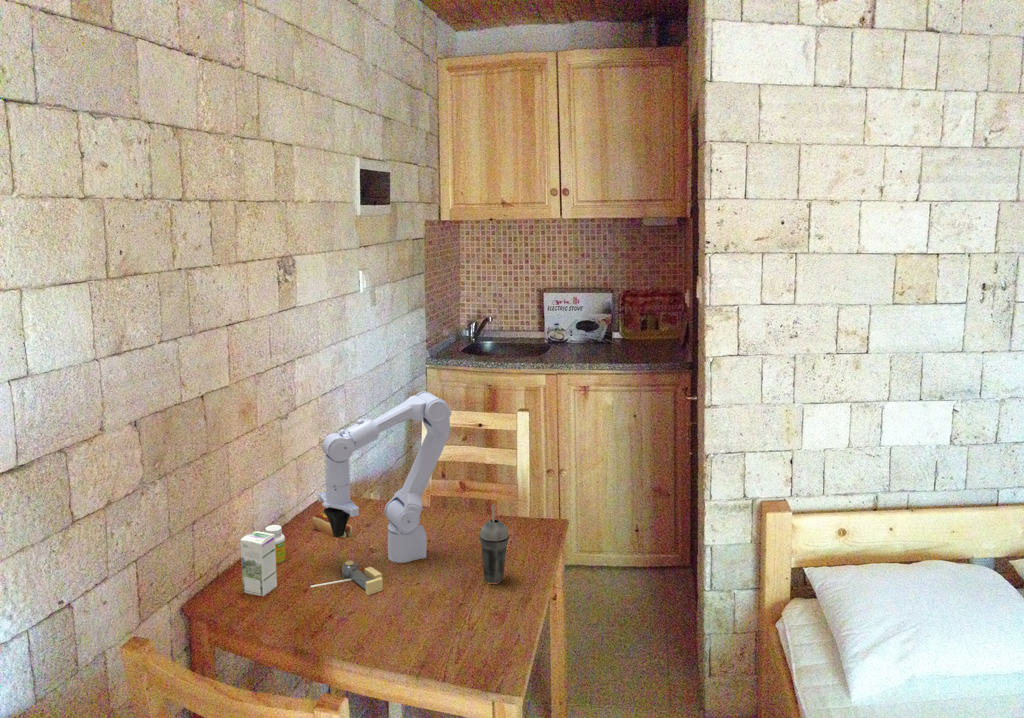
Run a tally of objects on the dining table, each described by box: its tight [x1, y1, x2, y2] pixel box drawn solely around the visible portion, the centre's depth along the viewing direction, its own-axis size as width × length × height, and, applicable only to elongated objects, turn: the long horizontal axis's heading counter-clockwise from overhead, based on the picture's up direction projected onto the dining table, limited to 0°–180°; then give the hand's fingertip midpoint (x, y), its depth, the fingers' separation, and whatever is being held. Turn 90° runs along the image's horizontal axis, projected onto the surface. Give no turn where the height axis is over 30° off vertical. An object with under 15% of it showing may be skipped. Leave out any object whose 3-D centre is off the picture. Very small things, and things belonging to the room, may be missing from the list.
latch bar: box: [341, 561, 371, 591], centre depth 198 cm, size 12×4×3 cm, turn 38°
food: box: [312, 513, 354, 539], centre depth 228 cm, size 14×6×5 cm, turn 51°
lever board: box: [310, 560, 384, 596], centre depth 197 cm, size 16×18×5 cm
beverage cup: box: [478, 504, 510, 583], centre depth 202 cm, size 7×7×20 cm
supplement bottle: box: [264, 524, 287, 565], centre depth 209 cm, size 5×5×10 cm
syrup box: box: [240, 530, 278, 597], centre depth 192 cm, size 6×6×14 cm
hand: (338, 535), depth 203 cm, fingers closed
